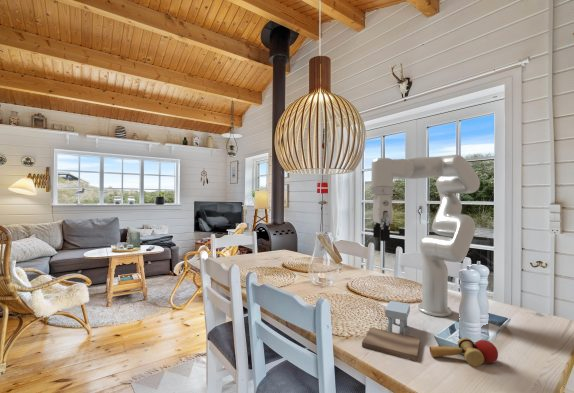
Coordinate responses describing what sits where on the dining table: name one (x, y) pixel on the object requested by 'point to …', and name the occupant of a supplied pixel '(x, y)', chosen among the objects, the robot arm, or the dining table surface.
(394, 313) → the stool
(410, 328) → the dining table surface
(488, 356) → the kendama
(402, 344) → the walnut board
